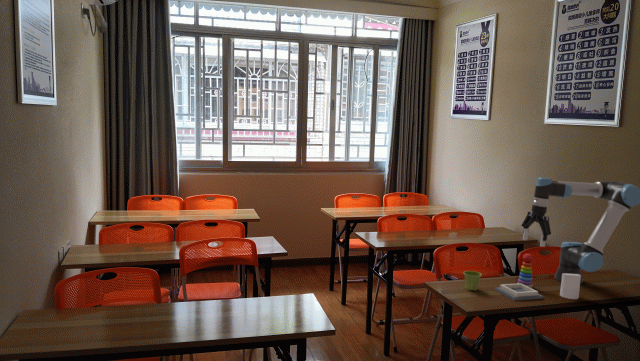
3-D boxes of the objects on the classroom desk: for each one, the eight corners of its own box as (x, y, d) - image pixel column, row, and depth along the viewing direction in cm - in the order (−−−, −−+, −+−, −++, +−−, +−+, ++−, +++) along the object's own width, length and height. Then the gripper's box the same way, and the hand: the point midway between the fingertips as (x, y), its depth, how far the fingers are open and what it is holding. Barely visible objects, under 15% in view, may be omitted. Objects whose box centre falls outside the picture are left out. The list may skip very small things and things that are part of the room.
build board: (522, 288, 283) (522, 282, 283) (542, 298, 268) (543, 292, 268) (494, 290, 278) (495, 283, 277) (513, 300, 263) (514, 294, 262)
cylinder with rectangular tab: (573, 293, 279) (576, 272, 277) (581, 299, 270) (584, 277, 268) (556, 292, 279) (559, 271, 278) (564, 298, 270) (566, 276, 269)
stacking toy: (534, 289, 283) (538, 256, 281) (520, 288, 283) (523, 255, 281) (529, 284, 291) (532, 252, 289) (514, 283, 291) (518, 251, 289)
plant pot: (474, 293, 271) (475, 277, 270) (458, 288, 278) (460, 272, 277) (483, 289, 278) (485, 274, 276) (468, 285, 285) (469, 269, 283)
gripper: (518, 200, 292) (512, 237, 294) (551, 209, 268) (544, 248, 270) (529, 201, 294) (523, 237, 296) (562, 210, 271) (555, 249, 273)
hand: (533, 243), depth 283 cm, fingers open, 13 cm apart
